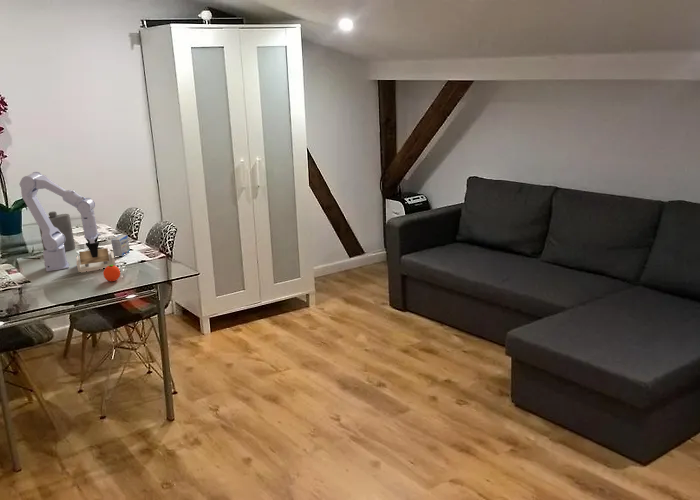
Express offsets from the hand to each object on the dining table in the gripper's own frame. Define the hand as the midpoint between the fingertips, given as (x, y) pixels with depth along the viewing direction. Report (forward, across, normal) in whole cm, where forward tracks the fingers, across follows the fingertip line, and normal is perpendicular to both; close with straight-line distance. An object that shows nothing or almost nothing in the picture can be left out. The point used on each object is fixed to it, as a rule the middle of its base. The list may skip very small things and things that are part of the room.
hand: (94, 254), depth 316 cm
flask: (+6, +32, +16) cm, 37 cm away
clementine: (+6, -22, -6) cm, 24 cm away
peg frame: (+6, 0, 0) cm, 6 cm away
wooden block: (+2, 0, 0) cm, 2 cm away
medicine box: (+6, +12, -12) cm, 18 cm away
